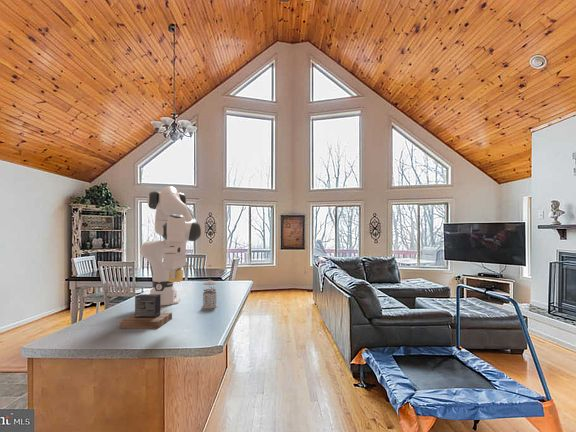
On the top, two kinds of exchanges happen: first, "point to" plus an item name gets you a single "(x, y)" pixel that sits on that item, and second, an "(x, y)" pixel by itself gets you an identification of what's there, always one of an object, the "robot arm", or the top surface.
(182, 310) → the top surface
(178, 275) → the mustard block
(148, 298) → the small box
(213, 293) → the french press
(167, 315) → the base board
